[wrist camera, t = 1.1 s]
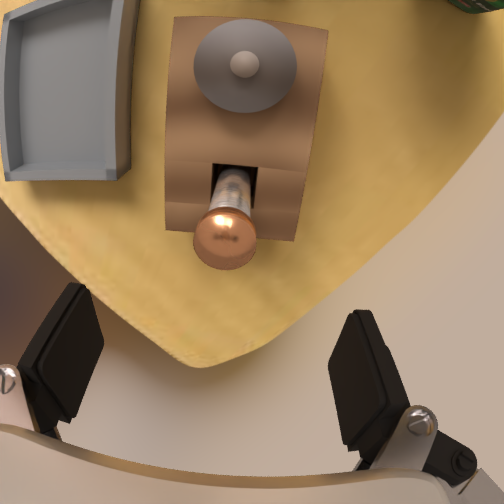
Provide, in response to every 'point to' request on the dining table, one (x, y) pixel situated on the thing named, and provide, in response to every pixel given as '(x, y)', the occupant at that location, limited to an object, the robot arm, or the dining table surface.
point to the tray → (67, 89)
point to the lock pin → (227, 222)
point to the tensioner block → (241, 116)
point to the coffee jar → (478, 5)
